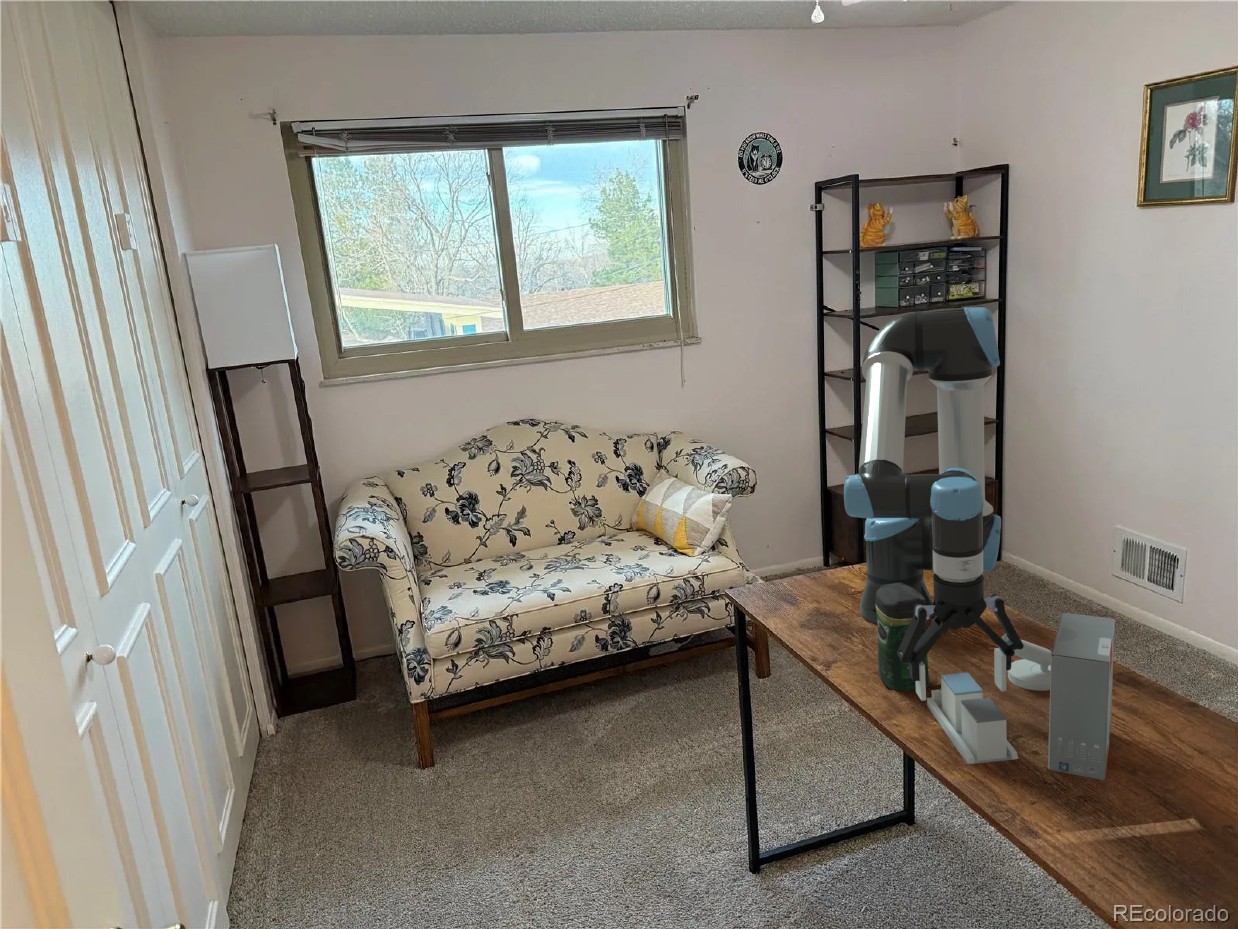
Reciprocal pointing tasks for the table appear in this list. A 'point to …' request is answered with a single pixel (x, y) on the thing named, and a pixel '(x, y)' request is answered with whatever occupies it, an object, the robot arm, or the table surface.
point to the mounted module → (984, 729)
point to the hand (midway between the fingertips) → (960, 691)
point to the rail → (960, 732)
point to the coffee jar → (896, 634)
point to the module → (957, 696)
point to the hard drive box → (1081, 695)
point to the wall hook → (1031, 667)
